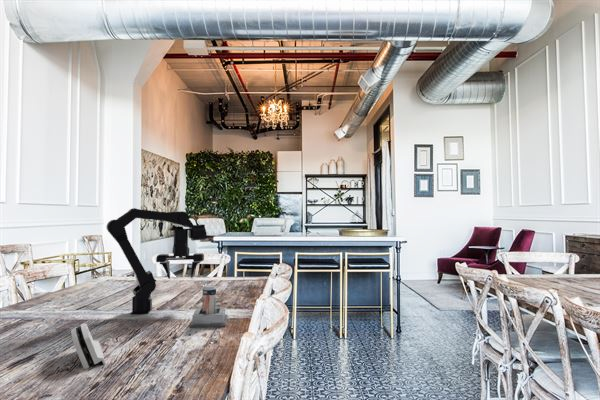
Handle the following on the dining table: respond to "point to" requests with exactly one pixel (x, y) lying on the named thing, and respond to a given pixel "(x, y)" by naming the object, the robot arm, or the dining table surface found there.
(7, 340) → the dining table surface
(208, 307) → the labelled cylindrical container
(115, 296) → the dining table surface
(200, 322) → the rail block
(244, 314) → the dining table surface
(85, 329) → the grey grooved device
